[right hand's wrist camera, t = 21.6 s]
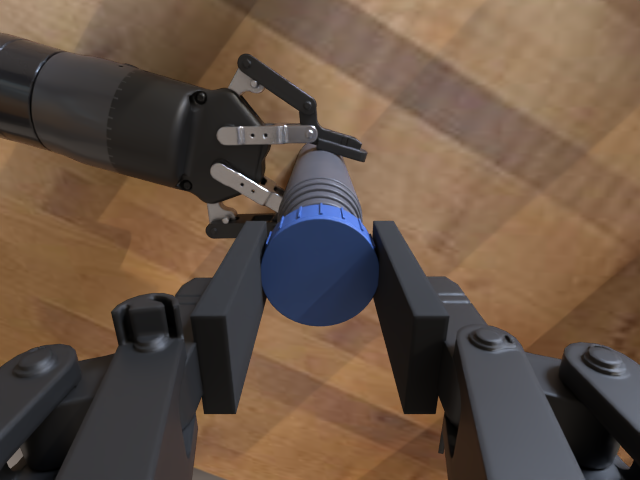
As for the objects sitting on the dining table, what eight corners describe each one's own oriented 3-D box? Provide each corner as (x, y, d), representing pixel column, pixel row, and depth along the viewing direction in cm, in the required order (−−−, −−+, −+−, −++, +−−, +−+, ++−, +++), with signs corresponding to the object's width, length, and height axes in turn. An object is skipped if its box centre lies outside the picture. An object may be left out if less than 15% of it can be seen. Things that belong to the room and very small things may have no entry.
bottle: (340, 186, 36) (372, 320, 14) (296, 183, 35) (260, 314, 14) (344, 140, 34) (385, 213, 13) (297, 137, 34) (260, 207, 13)
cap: (334, 320, 15) (336, 346, 14) (245, 269, 15) (235, 291, 13) (396, 241, 14) (405, 259, 13) (302, 180, 13) (300, 192, 12)
